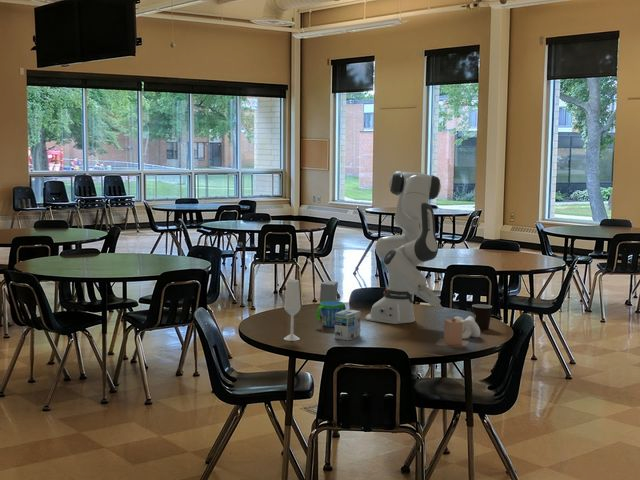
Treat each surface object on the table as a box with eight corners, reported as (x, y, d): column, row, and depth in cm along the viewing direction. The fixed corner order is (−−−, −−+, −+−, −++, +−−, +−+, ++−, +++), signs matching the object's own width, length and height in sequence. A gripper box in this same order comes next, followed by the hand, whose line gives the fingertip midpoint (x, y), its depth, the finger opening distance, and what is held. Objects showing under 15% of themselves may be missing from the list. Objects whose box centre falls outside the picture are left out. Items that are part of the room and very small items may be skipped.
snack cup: (322, 330, 359) (323, 306, 358) (309, 325, 368) (310, 302, 367) (352, 326, 368) (353, 303, 367) (338, 321, 377) (339, 299, 375)
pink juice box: (448, 344, 333) (449, 320, 332) (443, 341, 339) (444, 316, 338) (461, 344, 334) (462, 319, 333) (456, 340, 341) (457, 316, 339)
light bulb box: (347, 340, 341) (348, 314, 339) (333, 338, 344) (334, 312, 343) (360, 336, 350) (361, 310, 348) (346, 333, 353) (347, 308, 352)
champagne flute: (284, 336, 346) (285, 278, 343) (301, 337, 345) (302, 279, 342) (282, 340, 339) (283, 281, 336) (298, 340, 338) (300, 282, 336)
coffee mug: (491, 331, 364) (492, 308, 363) (470, 329, 366) (471, 307, 365) (491, 325, 376) (492, 303, 374) (471, 324, 377) (472, 302, 376)
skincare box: (323, 313, 394) (323, 280, 393) (337, 314, 392) (338, 281, 391) (318, 316, 386) (318, 282, 384) (333, 317, 384) (334, 283, 383)
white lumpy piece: (459, 342, 342) (460, 321, 341) (443, 336, 353) (444, 315, 352) (482, 340, 346) (483, 319, 345) (466, 334, 357) (467, 313, 356)
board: (434, 347, 333) (435, 344, 333) (440, 340, 345) (440, 338, 344) (465, 350, 329) (465, 347, 329) (469, 343, 341) (470, 341, 341)
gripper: (429, 282, 321) (452, 307, 324) (413, 273, 341) (435, 296, 344) (417, 294, 321) (441, 318, 324) (402, 284, 340) (424, 307, 344)
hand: (437, 307), depth 334 cm, fingers open, 8 cm apart
